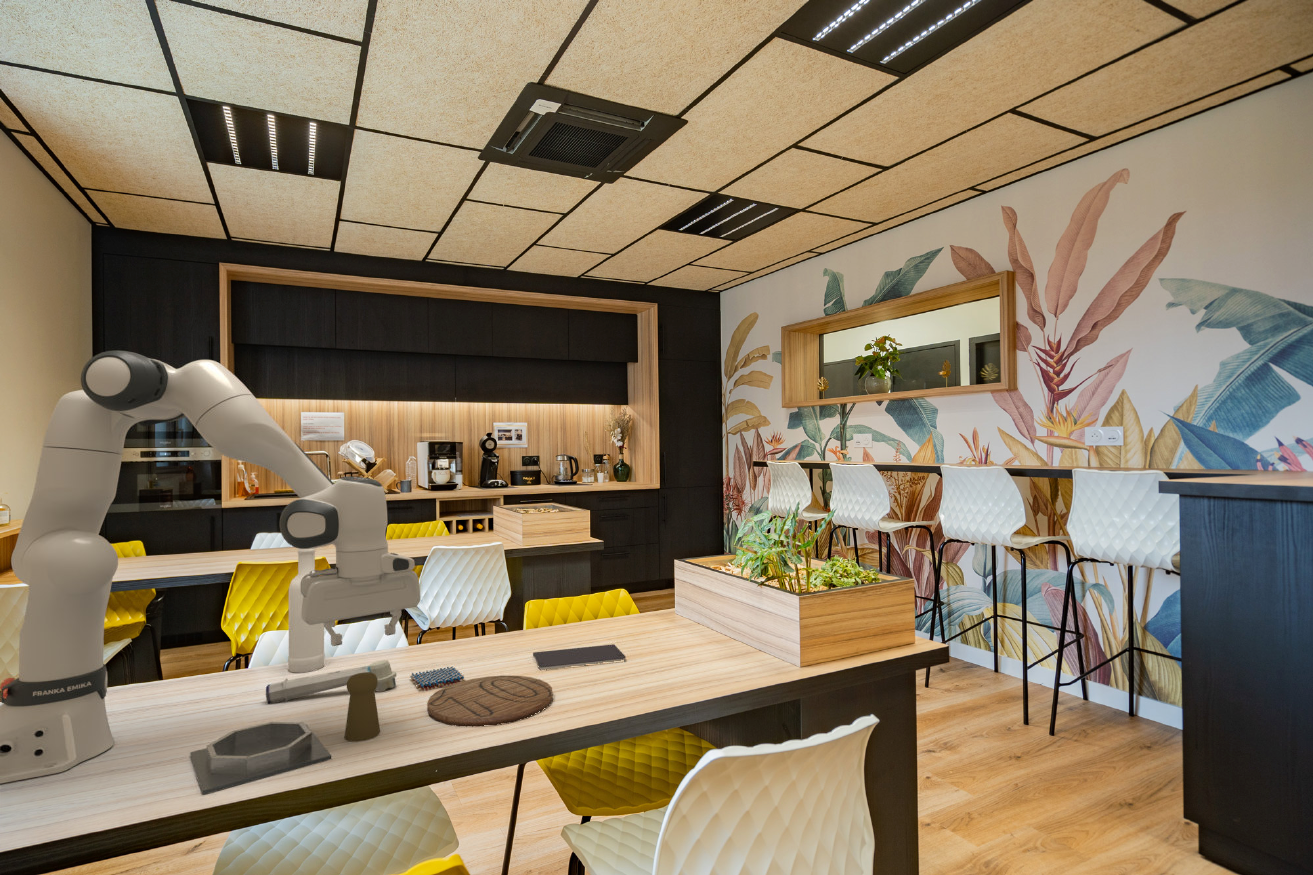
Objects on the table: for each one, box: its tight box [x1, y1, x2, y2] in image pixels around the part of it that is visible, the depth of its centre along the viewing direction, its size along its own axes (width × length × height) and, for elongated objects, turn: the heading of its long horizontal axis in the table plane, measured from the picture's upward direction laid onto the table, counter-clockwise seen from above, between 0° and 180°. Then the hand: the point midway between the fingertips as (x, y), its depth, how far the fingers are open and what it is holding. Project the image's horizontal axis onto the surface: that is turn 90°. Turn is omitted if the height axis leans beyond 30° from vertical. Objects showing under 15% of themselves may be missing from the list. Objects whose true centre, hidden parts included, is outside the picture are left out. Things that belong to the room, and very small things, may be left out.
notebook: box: [532, 643, 626, 671], centre depth 166 cm, size 13×2×21 cm
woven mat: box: [409, 666, 466, 692], centre depth 151 cm, size 10×11×2 cm
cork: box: [343, 672, 381, 743], centre depth 122 cm, size 6×6×11 cm
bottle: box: [287, 548, 326, 674], centre depth 164 cm, size 8×8×30 cm
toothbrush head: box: [265, 659, 397, 704], centre depth 144 cm, size 5×7×25 cm
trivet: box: [426, 675, 553, 728], centre depth 137 cm, size 25×25×2 cm
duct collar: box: [189, 721, 332, 796], centre depth 113 cm, size 18×18×3 cm
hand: (364, 639), depth 123 cm, fingers open, 8 cm apart
